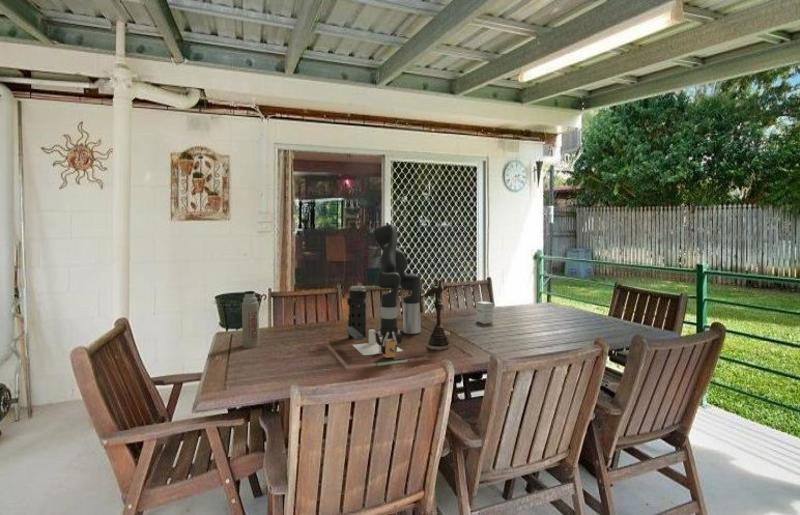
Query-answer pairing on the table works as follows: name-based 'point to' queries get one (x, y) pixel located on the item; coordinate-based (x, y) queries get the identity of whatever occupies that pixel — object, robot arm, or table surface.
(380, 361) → the mat
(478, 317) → the grey cylindrical canister
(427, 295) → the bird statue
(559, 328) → the table surface
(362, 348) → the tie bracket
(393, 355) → the orange block
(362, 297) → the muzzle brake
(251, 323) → the thermos bottle
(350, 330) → the strap
